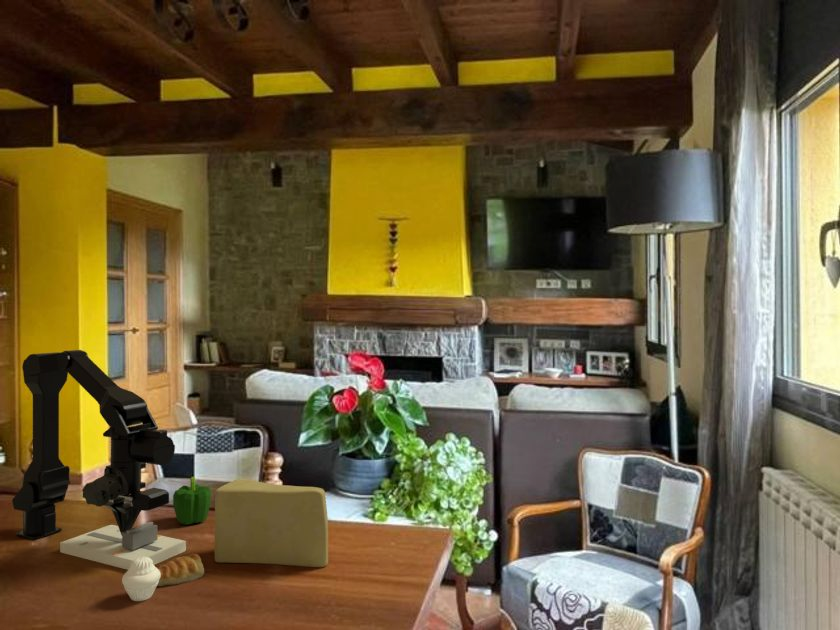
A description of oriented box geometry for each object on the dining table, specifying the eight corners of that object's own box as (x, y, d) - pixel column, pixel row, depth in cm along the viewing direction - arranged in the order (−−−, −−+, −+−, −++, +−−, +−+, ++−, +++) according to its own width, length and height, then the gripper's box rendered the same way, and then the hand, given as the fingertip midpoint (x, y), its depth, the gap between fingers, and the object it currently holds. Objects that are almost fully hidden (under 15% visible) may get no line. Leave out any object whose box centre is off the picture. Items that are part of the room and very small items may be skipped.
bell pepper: (203, 528, 144) (204, 484, 144) (167, 527, 144) (168, 483, 144) (216, 515, 153) (216, 474, 153) (182, 515, 153) (182, 474, 153)
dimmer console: (60, 552, 129) (60, 541, 129) (111, 533, 140) (111, 523, 140) (137, 572, 120) (137, 560, 120) (185, 550, 131) (185, 540, 131)
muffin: (132, 588, 113) (132, 549, 113) (166, 589, 113) (166, 550, 113) (114, 605, 107) (115, 563, 107) (150, 606, 107) (151, 564, 107)
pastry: (156, 593, 112) (156, 571, 112) (142, 581, 117) (142, 560, 117) (207, 578, 118) (207, 557, 118) (192, 567, 123) (192, 547, 123)
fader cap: (122, 547, 126) (122, 529, 126) (146, 537, 131) (146, 520, 131) (132, 549, 125) (133, 532, 125) (157, 540, 130) (157, 522, 130)
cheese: (336, 557, 128) (337, 483, 128) (317, 576, 119) (317, 497, 119) (238, 546, 134) (238, 475, 134) (212, 563, 125) (212, 487, 124)
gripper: (58, 462, 126) (57, 540, 126) (125, 474, 118) (124, 558, 119) (107, 451, 136) (106, 523, 137) (171, 461, 128) (170, 538, 129)
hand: (125, 535), depth 130 cm, fingers closed
